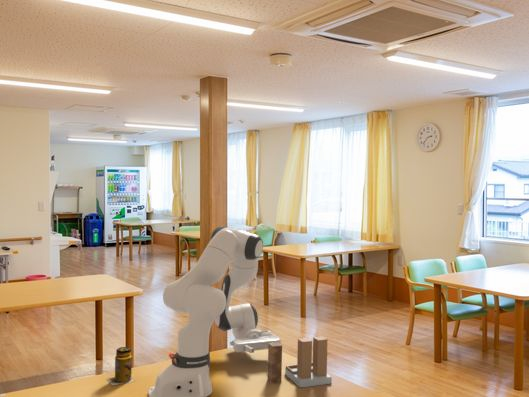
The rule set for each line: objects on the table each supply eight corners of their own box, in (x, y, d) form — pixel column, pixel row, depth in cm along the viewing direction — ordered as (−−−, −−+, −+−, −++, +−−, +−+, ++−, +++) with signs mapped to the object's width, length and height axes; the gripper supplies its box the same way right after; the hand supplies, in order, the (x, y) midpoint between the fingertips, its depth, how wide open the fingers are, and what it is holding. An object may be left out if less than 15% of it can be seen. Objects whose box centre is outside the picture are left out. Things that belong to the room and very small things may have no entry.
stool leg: (271, 383, 190) (272, 346, 190) (267, 379, 194) (268, 343, 194) (281, 381, 192) (282, 345, 191) (277, 378, 195) (277, 342, 195)
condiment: (134, 381, 189) (135, 349, 189) (112, 386, 185) (112, 353, 184) (128, 375, 195) (129, 344, 195) (106, 379, 191) (107, 348, 190)
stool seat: (300, 387, 186) (301, 343, 186) (285, 374, 199) (286, 333, 199) (331, 383, 191) (332, 340, 191) (314, 370, 204) (315, 330, 204)
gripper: (228, 334, 213) (239, 344, 200) (273, 330, 220) (286, 339, 207) (228, 349, 213) (238, 360, 200) (272, 344, 220) (285, 354, 208)
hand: (263, 349), depth 204 cm, fingers open, 8 cm apart
